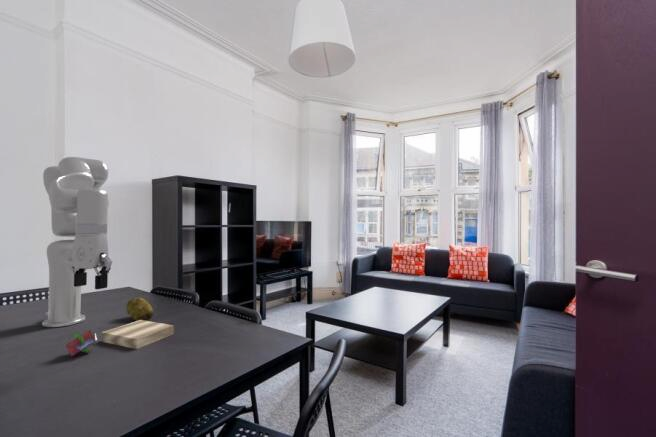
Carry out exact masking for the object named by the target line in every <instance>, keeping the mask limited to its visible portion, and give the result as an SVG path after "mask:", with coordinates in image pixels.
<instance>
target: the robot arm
mask: <svg viewBox="0 0 656 437" xmlns="http://www.w3.org/2000/svg"><path fill="white" fill-rule="evenodd" d="M42 176H43V177H42V179H43V180H42V181H43V184H44V185H43V186H44V188H45V191H46V193H47V195H48V199H49V204H50V208H51V209H50V210H51V212H50V213H51V215H50V216H51V230H52V233H53V235H54V236H56V237H62V238H63V237H64V238H74V239H60V240H54V241H52V242H50V243H49V244H48V245H47V246H46V258H47V263H48V264H47V265H48V305H47V306H48V311H46V312H45V315H46V316H47V319H45V320H43V321H42V323H41V326H42V327H44V328H58V327H59V328H60V327H65V326H66V327H67V326H71V325H76V324H79V323H82V322H83V321H85V320H86V315H84V314H81V306H82V305H81V304H82V303H81V302H82V301H81V300H82V287H84V286H87V285H88V284H87V278H88V272H86V271H87V270H92V269H93V270H94V271H95V274H96V275H95V276H94V289H95V290H103V289H107V288H108V282H109V281H108V280H109V279H108V278H109V276H108V275H109V274H110V270H111V269H112V264H113V260H112V259H111V258H110V257H109V242H108V216H109V215H108V212H109V209H108V207H109V195H108V194H109V193H108V192H107V191H106V190H104V189H100V188H101V187H102V186H103V185H104V184H105V183H106V182H107V180H108V177H109V169H108V166H107V164H106V163H105V162H103V161H102V160H100V159H92V158H85V157H84V158H83V157H79V156H78V157H77V156H68V157H67V156H66V157H64V158H62V159H61V160H60V161H59V162H58V165H56V166H48V167H46V168H45V169H44V171H43V175H42Z"/></svg>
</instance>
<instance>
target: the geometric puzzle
mask: <svg viewBox="0 0 656 437" xmlns="http://www.w3.org/2000/svg"><path fill="white" fill-rule="evenodd" d="M71 334H73V335H72V336H73V337H74V339H73V340H72V341H70V339H71V338H72V336H70V337H69V339H68V341H67V342H66V343H67V344H65V346H66V348H67V351H68V352H69V354H70V356H71V358H72V357H75V355H76V356H80V355H77V354H79V353H80V352H83V353H86V354H91V351H92V350H90V351H89V349H88V347H89V346H90V345H92V344H93V345H92V346H94V344H95V343H96V341H98V335H97V333H95V332H94V331H92V330H91V329H89V330H85V332H84V333H82V334H79V333H77V332H73V331H72V333H71ZM93 334H94V335H93ZM69 341H70V342H69ZM82 355H85V354H82Z"/></svg>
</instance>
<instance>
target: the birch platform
mask: <svg viewBox="0 0 656 437" xmlns="http://www.w3.org/2000/svg"><path fill="white" fill-rule="evenodd" d="M174 330H175V325H173V324H168V323H161V322H155V321H149V320H147V321H145V320H139V321H136V320H134V321H132V322H130V323H126V324H123V325H119V326H118V327H114V328H111V329H108V330H103V331H101V338H100V340H101V343H105V344H111V345H116V346H120V347H125V348H129V349H135V350H138V349H140V348H143V347H146V346H148V345H150V344H152V343H155V342H158V341H160V340H162V339H164V338H168V337H171V336H172V335H174V332H175V331H174Z"/></svg>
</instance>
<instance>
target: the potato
mask: <svg viewBox="0 0 656 437" xmlns="http://www.w3.org/2000/svg"><path fill="white" fill-rule="evenodd" d="M150 304H151V303H150V302H148V301H147V300H146V299H145V298H143V297H134V298H132V299H130V300H128V302H127V303H126V307H125V309H126V312H127V314H128V315H129V316H130V318H131V319H132V320H134V321H139V320H145V321H149V320H151V319H152V318H153V316H154V314H155V311H154V309H153V307H152V306H151V305H150Z"/></svg>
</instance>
